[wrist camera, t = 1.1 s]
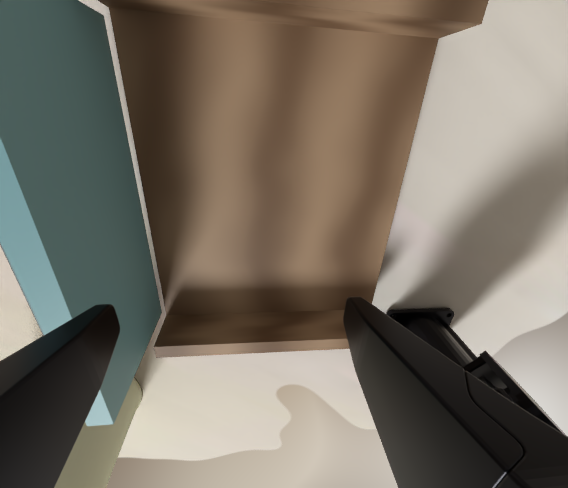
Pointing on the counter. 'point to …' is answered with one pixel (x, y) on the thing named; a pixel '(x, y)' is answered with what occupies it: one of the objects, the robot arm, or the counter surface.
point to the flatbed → (273, 156)
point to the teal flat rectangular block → (72, 183)
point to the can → (99, 447)
